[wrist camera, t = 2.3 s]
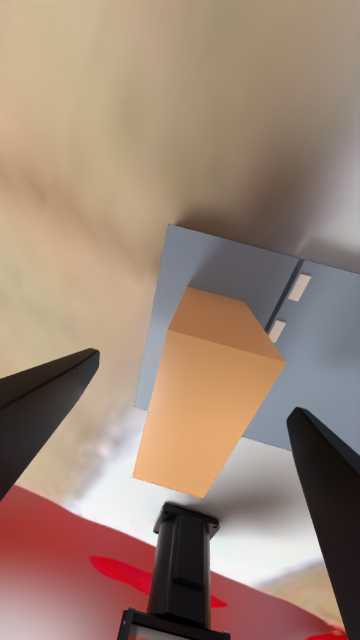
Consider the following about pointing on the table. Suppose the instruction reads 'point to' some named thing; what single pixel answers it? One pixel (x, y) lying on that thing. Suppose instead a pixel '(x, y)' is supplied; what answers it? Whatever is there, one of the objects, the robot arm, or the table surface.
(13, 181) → the table surface
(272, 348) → the stub
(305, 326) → the ticket board
